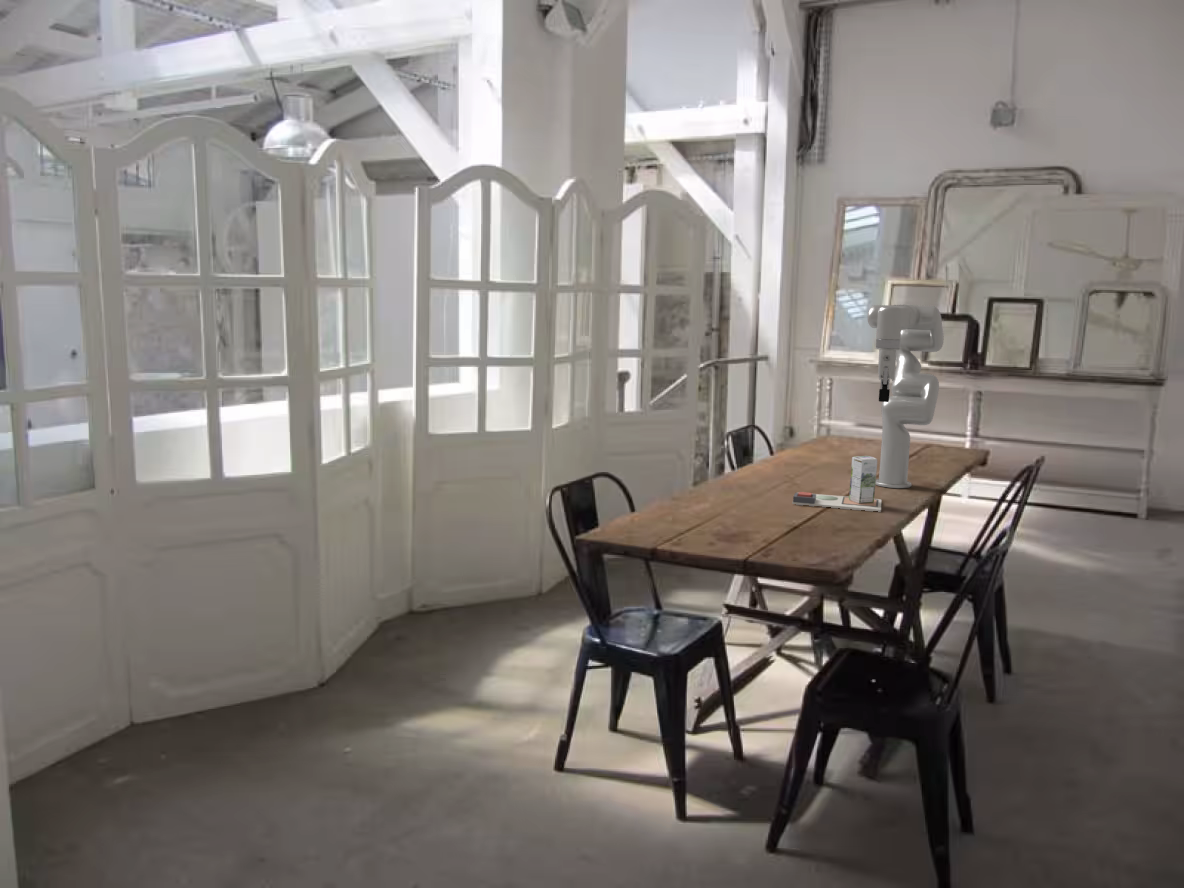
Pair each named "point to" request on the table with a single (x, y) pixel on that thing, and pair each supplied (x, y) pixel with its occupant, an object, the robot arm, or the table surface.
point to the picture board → (836, 502)
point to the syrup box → (863, 479)
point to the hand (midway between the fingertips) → (883, 401)
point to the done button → (805, 494)
